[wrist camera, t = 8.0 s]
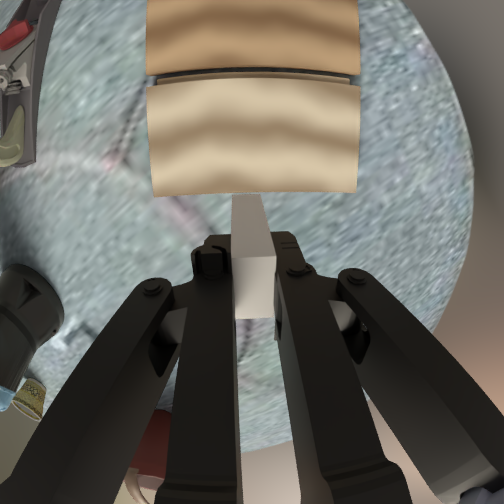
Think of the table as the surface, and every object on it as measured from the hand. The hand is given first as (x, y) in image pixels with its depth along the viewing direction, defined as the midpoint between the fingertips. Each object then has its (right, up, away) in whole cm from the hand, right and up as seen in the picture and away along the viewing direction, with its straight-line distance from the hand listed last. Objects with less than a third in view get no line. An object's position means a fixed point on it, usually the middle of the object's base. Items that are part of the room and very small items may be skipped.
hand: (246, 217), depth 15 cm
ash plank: (+1, +11, +12) cm, 17 cm away
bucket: (-24, -46, +45) cm, 69 cm away
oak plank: (0, +22, +7) cm, 23 cm away
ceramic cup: (-62, -40, +39) cm, 83 cm away
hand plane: (-29, +23, +5) cm, 37 cm away
